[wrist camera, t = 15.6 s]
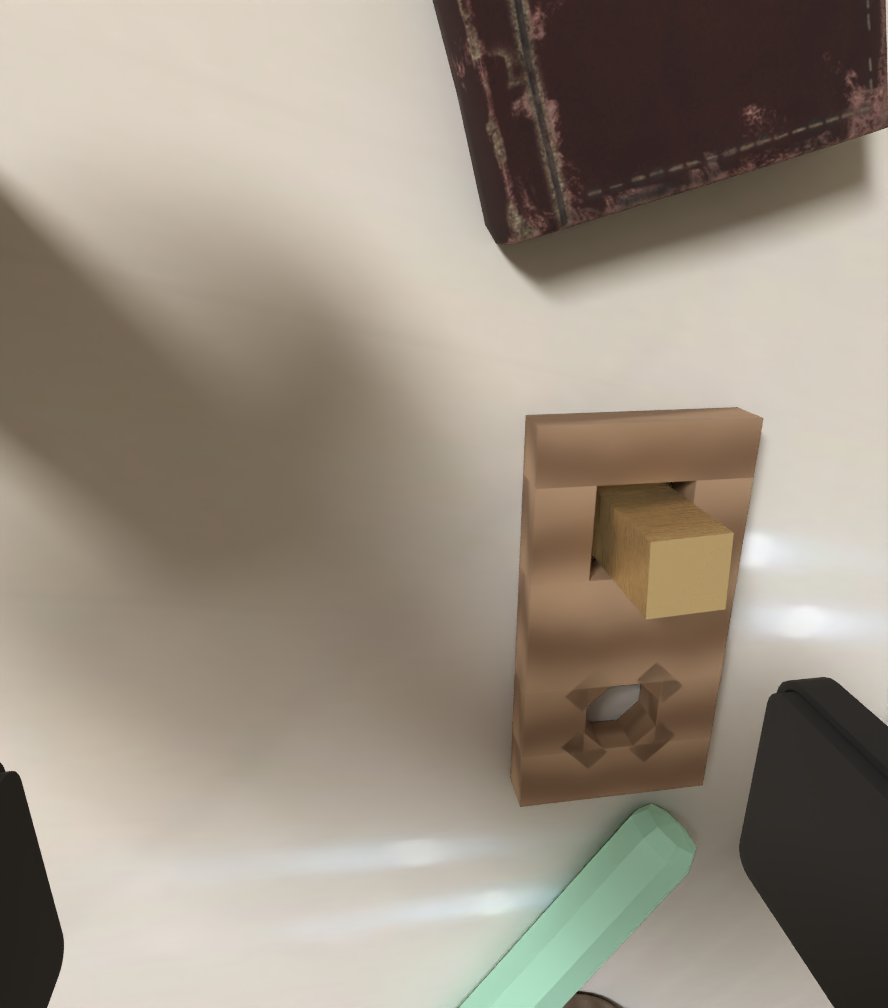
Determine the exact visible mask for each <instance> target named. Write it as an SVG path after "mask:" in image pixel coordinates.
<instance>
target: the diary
mask: <svg viewBox="0 0 888 1008" xmlns="http://www.w3.org/2000/svg"><path fill="white" fill-rule="evenodd" d="M433 3H434V7H435V11H436V15H437V19H438V23H439V27H440V30H441V34H442V38H443V42H444V46H445V50H446V53H447V57H448V61H449V65H450V69H451V73H452V77H453V80H454V84H455V88H456V92H457V96H458V100H459V105H460V110H461V114H462V119H463V124H464V128H465V133H466V138H467V142H468V147H469V151H470V156H471V161H472V165H473V170H474V175H475V179H476V184H477V189H478V193H479V198H480V202H481V207H482V212H483V216H484V221H485V225H486V227H487V229H488V230H489V232H490V234H491V235H492V237H493V239H494V240H495V242H496V243H498V244H512V243H519V242H523V241H526V240H530V239H533V238H536V237H539V236H542V235H546V234H549V233H552V232H555V231H558V230H561V229H564V228H568V227H571V226H574V225H578V224H581V223H584V222H587V221H591V220H594V219H597V218H600V217H603V216H607V215H610V214H613V213H616V212H619V211H623V210H626V209H629V208H632V207H636V206H639V205H642V204H645V203H649V202H652V201H655V200H659V199H662V198H665V197H668V196H672V195H675V194H678V193H681V192H685V191H688V190H691V189H694V188H698V187H701V186H704V185H707V184H711V183H714V182H717V181H720V180H723V179H727V178H730V177H733V176H736V175H739V174H743V173H746V172H749V171H752V170H755V169H759V168H762V167H765V166H768V165H771V164H775V163H778V162H781V161H784V160H787V159H791V158H794V157H797V156H800V155H803V154H806V153H810V152H813V151H816V150H819V149H822V148H825V147H828V146H832V145H835V144H838V143H841V142H844V141H847V140H851V139H854V138H857V137H860V136H863V135H866V134H869V133H873V132H876V131H878V130H881V129H884V128H887V127H888V80H887V41H886V2H885V0H433Z"/></svg>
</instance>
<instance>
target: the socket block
mask: <svg viewBox="0 0 888 1008" xmlns="http://www.w3.org/2000/svg"><path fill="white" fill-rule="evenodd" d="M762 423H763V418H762V417H759V416H757V415H754V414H752V413H750V412H747V411H745V410H742V409H740V408H738V407H735V408H708V409H681V410H654V411H627V412H600V413H573V414H546V415H526V423H525V446H524V470H523V493H522V517H521V541H520V564H519V588H518V611H517V635H516V658H515V682H514V705H513V729H512V752H511V776H510V778H511V781H512V784H513V787H514V790H515V793H516V796H517V799H518V802H519V805H520V807H523V806H531V805H540V804H548V803H557V802H565V801H573V800H582V799H590V798H599V797H607V796H616V795H624V794H633V793H641V792H649V791H658V790H666V789H675V788H683V787H692V786H700V785H703V780H704V774H705V768H706V762H707V756H708V750H709V744H710V738H711V732H712V725H713V719H714V713H715V707H716V701H717V695H718V689H719V683H720V677H721V671H722V665H723V659H724V653H725V647H726V641H727V635H728V629H729V623H730V617H731V611H732V605H733V599H734V593H735V586H736V580H737V574H738V568H739V562H740V556H741V550H742V544H743V538H744V532H745V526H746V520H747V514H748V508H749V502H750V496H751V490H752V484H753V478H754V472H755V466H756V460H757V453H758V447H759V441H760V435H761V429H762ZM661 482H673V486H672V488H673V489H674V490H675V491H677V492H678V493H680V494H681V495H682V496H684V497H685V498H687V499H688V500H689V501H691V502H692V503H693V504H695V505H696V506H698V507H699V508H700V509H702V510H703V511H704V512H706V513H707V514H709V515H710V516H711V517H713V518H714V519H716V520H717V521H718V522H720V523H721V524H722V525H724V526H725V527H727V528H728V529H729V530H731V531H732V532H733V533H734V535H733V545H732V554H731V563H730V572H729V581H728V590H727V600H726V609H724V610H717V611H709V612H701V613H693V614H685V615H678V616H670V617H662V618H654V619H645V618H644V617H643V615H642V614H641V613H640V612H639V611H638V609H637V608H636V607H635V606H634V605H633V603H632V602H631V601H630V600H629V599H628V598H627V596H626V595H625V594H624V593H623V592H622V590H621V589H620V588H619V587H618V586H617V584H616V583H615V582H614V581H613V580H612V578H611V577H610V576H609V575H608V574H607V572H606V571H605V570H604V569H603V568H602V566H601V565H600V564H599V563H598V562H597V560H591V551H592V539H593V527H594V515H595V503H596V490H597V486H604V485H623V484H642V483H661ZM630 684H641V687H640V695H639V701H638V702H637V703H636V704H635V705H633V706H632V707H631V708H630V709H629V710H628V711H627V712H626V713H624V714H623V715H622V716H621V717H620V718H619V719H618V720H610V721H600V722H588V721H587V720H586V710H587V707H588V706H589V705H590V704H591V703H592V702H593V701H594V700H595V699H597V698H598V697H599V696H600V695H601V694H602V693H603V692H604V691H605V690H607V689H608V688H609V687H610V686H619V685H630Z"/></svg>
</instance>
